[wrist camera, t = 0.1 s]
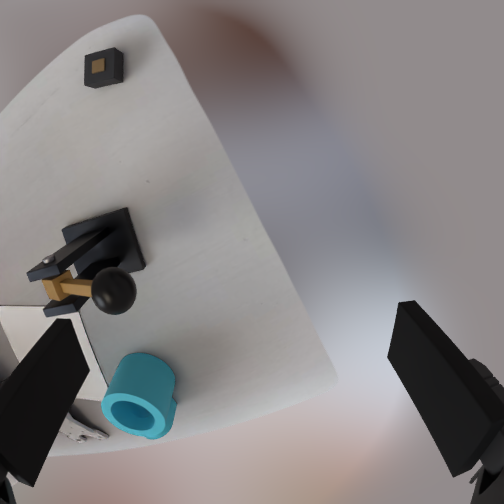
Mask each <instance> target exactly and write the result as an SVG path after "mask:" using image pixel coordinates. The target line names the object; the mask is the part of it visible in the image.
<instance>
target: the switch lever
mask: <svg viewBox="0 0 504 504" xmlns="http://www.w3.org/2000/svg"><path fill="white" fill-rule="evenodd" d="M42 283H43V285H44V287H45V290H46V292H47V294H48V296H49V299H53V300H57V301H61V300H63V299H64V298H66V297H68V296H69V295H71V294H75V295H81V296H88V297H92V299H93V301H94V303H95V305H96V306H97V307H98V308H99V309H100V310H101V311H103V312H105V313H107V314H111V315H118V314H122V313H124V312H126V311H127V310H128V309H130V308H131V306H132V305H133V303H134V301H135V299H136V294H137V289H136V284H135V281H134V279H133V278H132V276H131V275H130V274H129V273H128V272H127V271H125V270H124V269H121V268H118V267H108V268H105V269H103V270H101V271H100V272H99V273H98V274H97V275H96V276H95V277H94V279H93V280H81V279H73V277H72V275H71V272H70V270H65V271H63V272H62V273H61V274H58V275H55V276H51V277H47V278H43V279H42Z"/></svg>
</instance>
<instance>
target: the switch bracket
mask: <svg viewBox="0 0 504 504" xmlns="http://www.w3.org/2000/svg"><path fill="white" fill-rule="evenodd" d="M62 232H63V235H64V238H65V241H66V244H67V245H65V246H64V247H62V248H61V249H59V250H58V251H56V252H55V253H54V254H52V255H49V256H47V257H45V258H44V259H43V260H42V262H41V263H39V264H38V265H37V266H35V267H34V268H32V269H31V270H30V271H28V272H27V276H28V278H29V281H30V282H32V281H36V280H40V279H43V278H47V277H51V276H55V275H58V274H61V273H62V272H63V271H65V270H66V269H67V268H68V267H69V266H71V265H72V264H73V263H74V266H75V268H76V271H77V273H78V276H77V277H76V278H75V279H81V280H93V279H94V277H95V276H96V275H97V274H98V273H99V272H100V271H101V270H103V269H105V268H108V267H118V268H121V269H124V270H125V271H127V272H128V273H131V272H135V271H140V270H143V269H144V268H145V267H146V265H145V262H144V259H143V257H142V254H141V251H140V248H139V245H138V242H137V239H136V235H135V232H134V229H133V226H132V223H131V220H130V216H129V213H128V210H127V208H123V209H120V210H117V211H114V212H110V213H107V214H104V215H101V216H98V217H95V218H92V219H89V220H86V221H82V222H79V223H77V224H74V225H71V226H68V227H65V228H63V229H62ZM89 298H90V297H88V296H81V295H75V294H71V295H69V296H68V297H66V298H64V299H63V300H61V301H57V300H53V299H52V300H51V301H50V302H49V303H48V304H47V305H46V306H45V307H44V308H43V312H44V314H45V316H46V317H53V316H58V315H64V314H70V313H76V312H78V311H79V309H80V308H81V307H82V306H83V305H84V304H85V302H86V301H87V300H88V299H89Z"/></svg>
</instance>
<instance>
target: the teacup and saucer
mask: <svg viewBox="0 0 504 504" xmlns="http://www.w3.org/2000/svg"><path fill="white" fill-rule="evenodd" d="M43 308H44V307H32V306H0V321H1V324H2V326H3V329H4V331H5V333H6V336H7V338H8V340H9V342H10V344H11V347H12V349H13V351H14V353H15V355H16V357H17V359H18V361H19V363H20V362H21V361H22V360H23V358H24V357H25V356H26V355H27V353H28V352H29V351H30V350H31V348H32V347H33V346H34V345H35V343H36V342H37V341H38V340H39V339H40V337H41V336H42V335H43V334H44V333H45V331H46V330H47V329H48V328H49V327H50V326H51V324H52V323H53V322H54V321H55V320H56V319H57V318H64V319H71V321H72V324H73V327H74V329H75V332H76V335H77V338H78V341H79V343H80V346H81V348H82V351H83V354H84V356H85V359H86V361H87V364H88V366H89V369H90V372H89V374H88V376H87V377H86V379H85V381H84V383H83V385H82V387H81V389H80V390H79V392H78V394H77V396H76V398H79V399H87V400H95V401H102V400H103V398H104V396H105V393H106V391H107V389H108V387H107V384H106V382H105V380H104V378H103V375H102V373H101V371H100V368H99V366H98V363H97V361H96V359H95V356H94V354H93V351H92V348H91V346H90V343H89V341H88V338H87V335H86V333H85V330H84V327H83V324H82V321H81V318H80V315H79V312H76V313H70V314H64V315H58V316H53V317H46V316H45V314H44V312H43Z"/></svg>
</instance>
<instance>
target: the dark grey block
mask: <svg viewBox="0 0 504 504" xmlns="http://www.w3.org/2000/svg"><path fill="white" fill-rule="evenodd" d="M121 82H123V53H122V52H121V51H119V50H118V49H116V48H115V47H114V48H110V49H106V50H102V51H99V52H95V53H92V54H88V55H85V70H84V85H85V86H88V87H91V88H95V89H96V88H100V87H104V86H108V85H112V84H117V83H121Z"/></svg>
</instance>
